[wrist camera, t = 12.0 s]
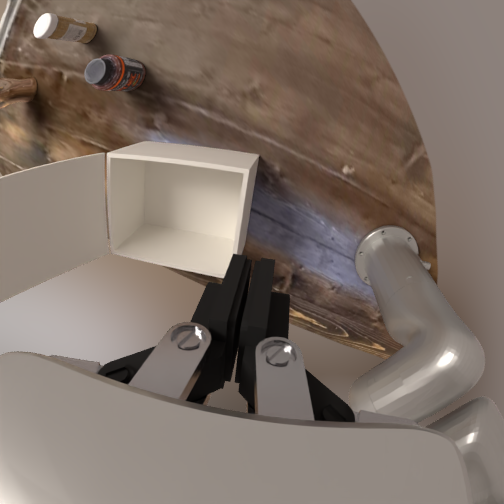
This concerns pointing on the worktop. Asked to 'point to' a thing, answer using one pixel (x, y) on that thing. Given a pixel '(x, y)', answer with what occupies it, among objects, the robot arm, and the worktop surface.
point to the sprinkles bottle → (64, 29)
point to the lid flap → (51, 221)
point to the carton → (180, 204)
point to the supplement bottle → (115, 73)
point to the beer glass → (17, 90)
